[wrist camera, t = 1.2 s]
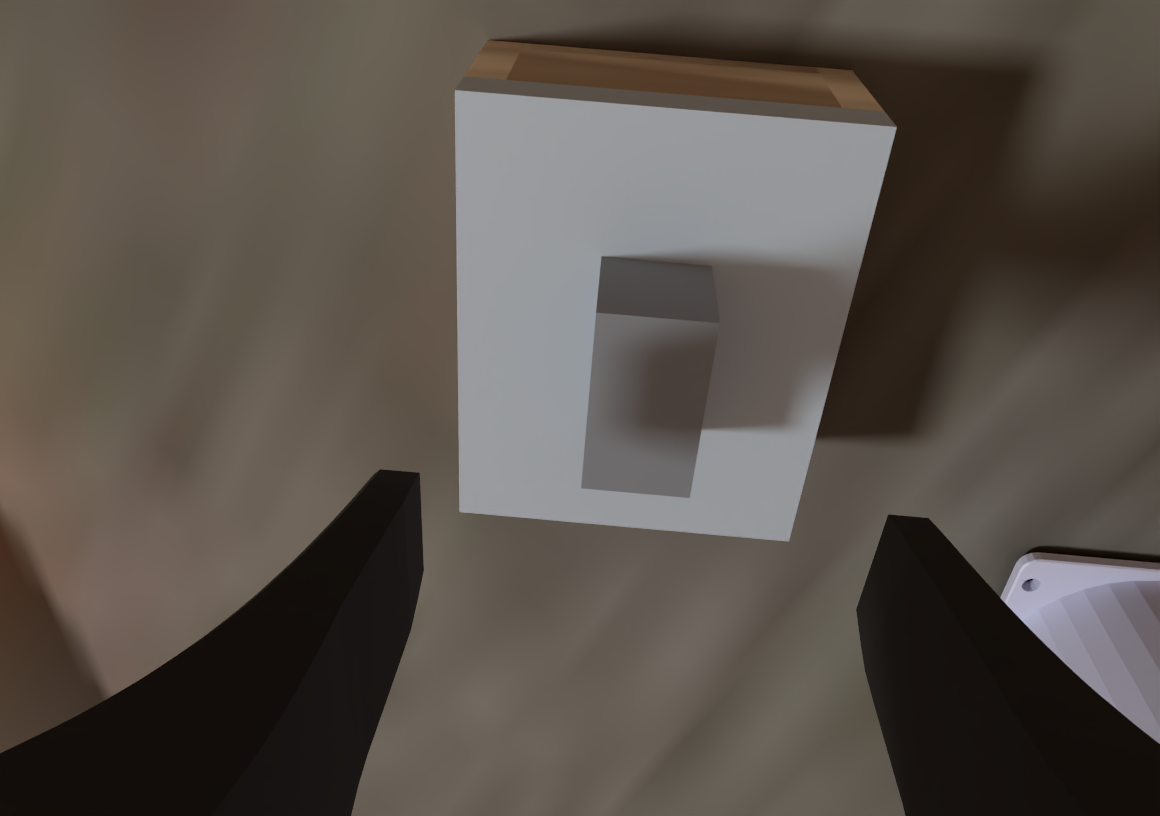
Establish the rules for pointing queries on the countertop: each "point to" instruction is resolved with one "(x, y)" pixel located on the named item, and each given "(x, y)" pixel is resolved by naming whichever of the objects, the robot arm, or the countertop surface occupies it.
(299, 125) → the countertop surface
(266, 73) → the countertop surface
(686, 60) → the box
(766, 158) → the lid
